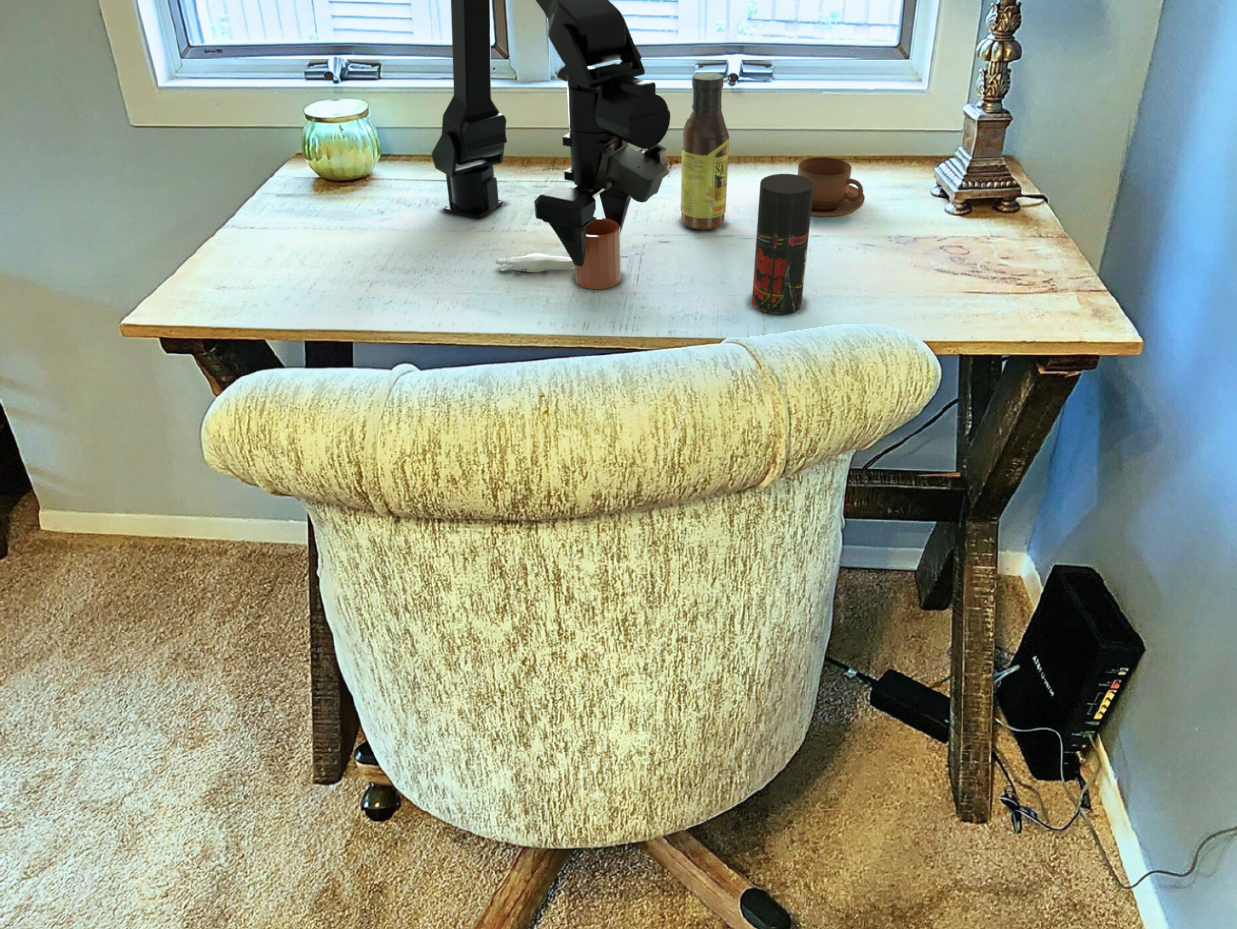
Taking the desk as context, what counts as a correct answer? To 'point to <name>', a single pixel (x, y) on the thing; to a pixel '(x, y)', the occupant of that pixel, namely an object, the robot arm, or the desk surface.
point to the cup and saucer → (831, 187)
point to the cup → (601, 256)
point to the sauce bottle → (705, 156)
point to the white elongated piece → (535, 263)
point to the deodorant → (781, 243)
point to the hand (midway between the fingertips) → (597, 250)
